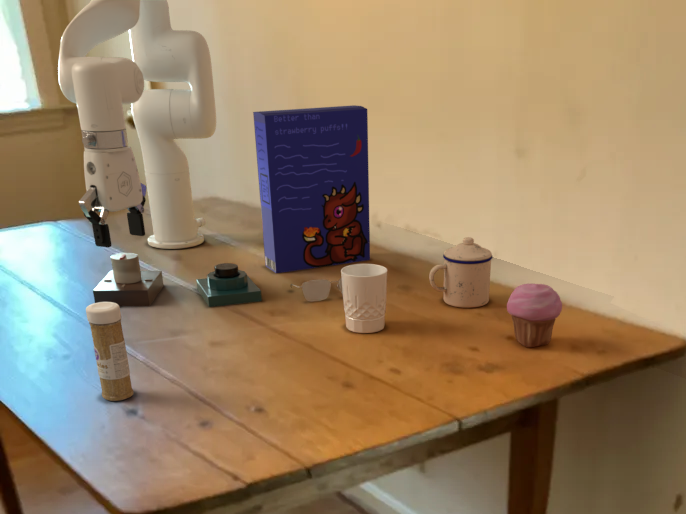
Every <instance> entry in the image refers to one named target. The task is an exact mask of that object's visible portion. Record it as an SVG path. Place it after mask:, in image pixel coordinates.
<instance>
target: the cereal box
mask: <svg viewBox="0 0 686 514" xmlns="http://www.w3.org/2000/svg"><path fill="white" fill-rule="evenodd" d="M252 114H253V126H254V138H255V139H254V140H255V152H256V164H257V177H258V190H259V201H260V215H261V227H262V240H263V252H264V266H265V267H266V268H267V269H269V270H270V271H272V272H273V273H274V274H282V273H289V272H296V271H302V270H309V269H317V268H325V267H332V266H338V265H344V264H345V265H346V264H352V263H359V262H367V261H370V260H371V238H370V236H371V232H370V230H371V229H370V227H371V226H370V186H369V185H370V183H369V182H370V178H369V174H370V173H369V172H370V171H369V125H368V121H369V119H368V108H367V107H365V106H362V105H356V104H355V105H353V104H352V105H338V106H324V107H323V106H322V107H321V106H320V107H308V108H306V107H305V108H292V109H291V108H290V109H277V110H276V109H275V110H262V111H261V110H260V111H252Z"/></svg>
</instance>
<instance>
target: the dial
mask: <svg viewBox="0 0 686 514" xmlns="http://www.w3.org/2000/svg"><path fill="white" fill-rule="evenodd" d="M110 261H111V267H112V271H113V274H114V280H115V282H116V283H120V284H130V283H136V282H139V281H141V280H142V277H141V271H142V270H141V265H140V257H139V254H137V253H136V252H135V253H134V252H119V253H115V254H112V255H111V256H110Z"/></svg>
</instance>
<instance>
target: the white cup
mask: <svg viewBox="0 0 686 514" xmlns="http://www.w3.org/2000/svg"><path fill="white" fill-rule="evenodd" d="M340 278H342V291H343V295H342V302H343V310H344V317H345V318H344V319H345V328H346V329H347V330H348V331H350V332H353V333H356V334H357V333H359V334H374V333H377V332H380V331H382V330H384V328H385V325H386V310H387V294H388V292H387V291H388V268H387V267H385V266H383V265H380V264H374V263H354V264H350V265H346V266H344V267H342V268H341V269H340Z"/></svg>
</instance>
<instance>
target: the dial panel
mask: <svg viewBox="0 0 686 514" xmlns="http://www.w3.org/2000/svg"><path fill="white" fill-rule="evenodd" d="M140 271H141V277H142V280H141V281H139V282H136V283H130V284H120V283H116V282H115V280H114V274H113V270H110V271H109V272H108V273H107V274H106V275H105V276H104V278H102V280H100V282H99V283H98V284H97V286H96V287H95V288H94V289H92V294H93V299H94V303H98V302H113V303H116V304H118V305H119V307H151V305H152V304H153V302H154V301H155V300H156V298H157V297H158V295H159V293H160V292H161V291H162V289H163V287H164V286H165V285H164V279H163V271H162V270H140Z"/></svg>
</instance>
